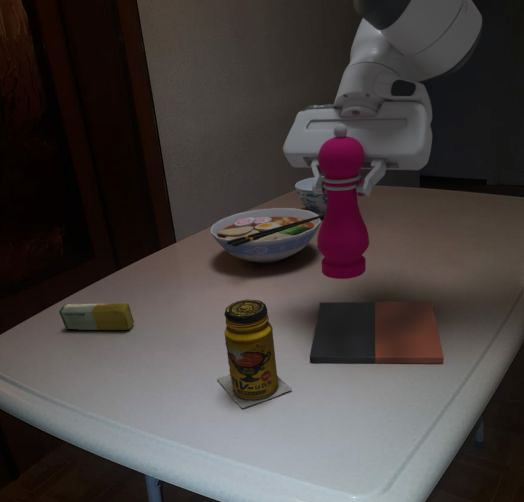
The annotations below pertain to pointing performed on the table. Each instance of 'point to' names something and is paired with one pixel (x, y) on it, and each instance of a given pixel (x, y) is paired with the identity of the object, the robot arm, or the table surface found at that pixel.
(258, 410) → the table surface
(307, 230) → the ramen bowl
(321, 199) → the chinaware
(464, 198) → the table surface
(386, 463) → the table surface
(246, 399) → the condiment
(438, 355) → the sorting board
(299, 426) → the table surface
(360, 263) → the pepper mill
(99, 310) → the medication box
